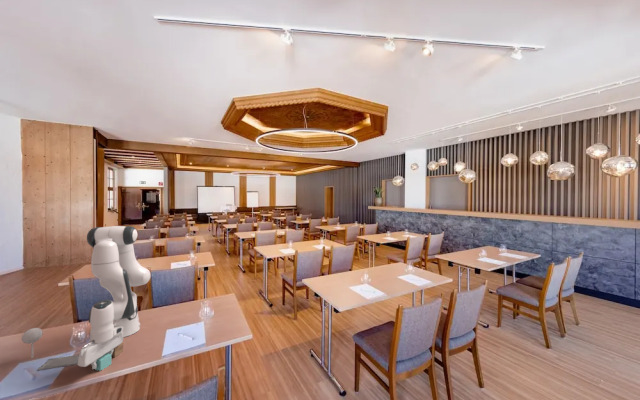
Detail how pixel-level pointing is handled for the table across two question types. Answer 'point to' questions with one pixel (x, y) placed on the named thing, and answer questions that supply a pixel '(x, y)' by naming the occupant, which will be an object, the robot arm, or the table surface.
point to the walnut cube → (117, 351)
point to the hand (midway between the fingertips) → (102, 363)
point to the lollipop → (32, 337)
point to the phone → (60, 362)
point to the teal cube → (103, 361)
